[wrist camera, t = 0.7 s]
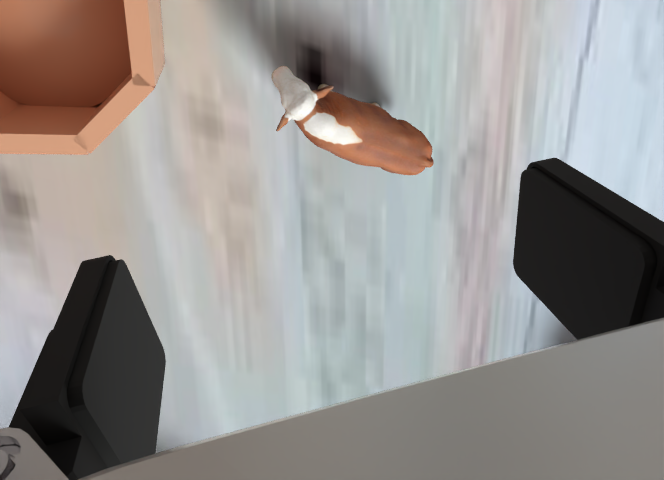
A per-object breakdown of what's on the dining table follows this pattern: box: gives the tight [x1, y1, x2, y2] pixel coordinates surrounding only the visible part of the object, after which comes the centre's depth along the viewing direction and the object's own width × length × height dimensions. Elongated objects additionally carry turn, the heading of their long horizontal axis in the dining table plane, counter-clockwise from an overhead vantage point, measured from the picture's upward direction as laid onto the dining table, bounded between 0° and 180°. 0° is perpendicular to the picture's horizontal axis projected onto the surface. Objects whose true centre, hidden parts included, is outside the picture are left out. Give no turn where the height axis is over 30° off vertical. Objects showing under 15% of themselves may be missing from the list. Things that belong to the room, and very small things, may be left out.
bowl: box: [0, 0, 165, 154], centre depth 28 cm, size 14×14×7 cm
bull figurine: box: [272, 66, 433, 175], centre depth 35 cm, size 4×13×8 cm, turn 60°
